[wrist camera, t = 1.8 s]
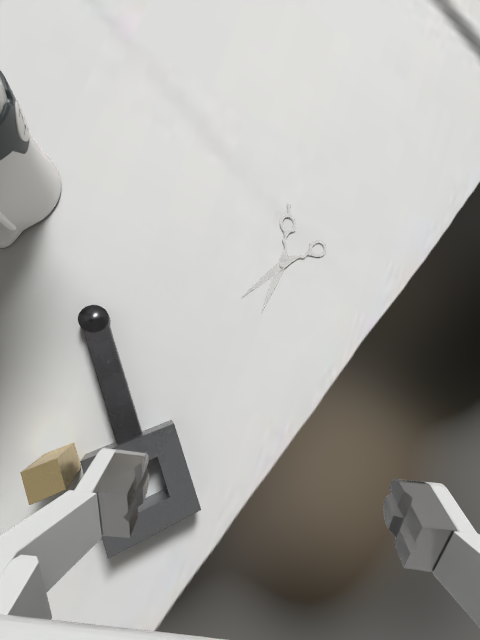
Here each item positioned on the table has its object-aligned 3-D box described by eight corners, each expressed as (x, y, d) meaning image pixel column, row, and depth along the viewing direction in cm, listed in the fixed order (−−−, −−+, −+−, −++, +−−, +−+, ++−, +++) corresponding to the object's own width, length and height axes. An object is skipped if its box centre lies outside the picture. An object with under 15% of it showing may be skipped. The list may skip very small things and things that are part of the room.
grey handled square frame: (111, 542, 37) (108, 558, 34) (47, 320, 39) (38, 314, 36) (196, 499, 41) (201, 509, 38) (133, 298, 43) (132, 292, 40)
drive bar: (52, 479, 36) (29, 505, 29) (45, 453, 37) (20, 472, 29) (81, 467, 38) (65, 489, 30) (73, 442, 38) (57, 457, 30)
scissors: (332, 241, 56) (277, 326, 49) (330, 243, 56) (275, 326, 49) (288, 203, 54) (225, 284, 47) (286, 205, 55) (224, 286, 48)
